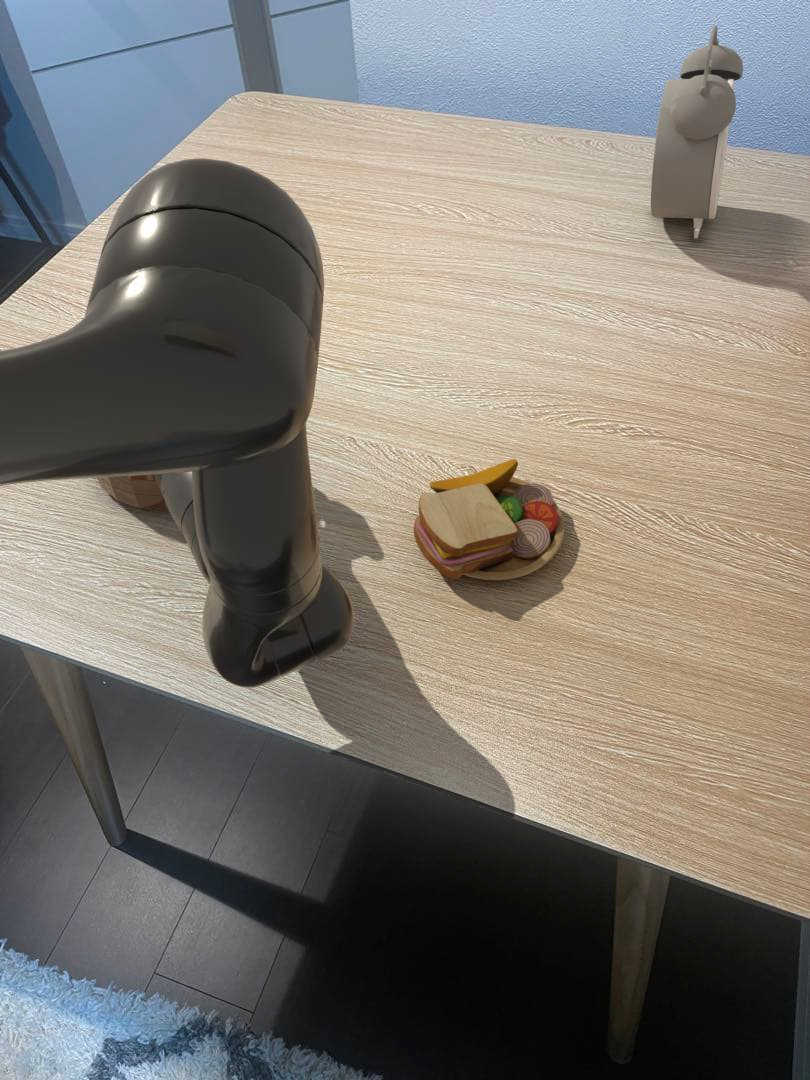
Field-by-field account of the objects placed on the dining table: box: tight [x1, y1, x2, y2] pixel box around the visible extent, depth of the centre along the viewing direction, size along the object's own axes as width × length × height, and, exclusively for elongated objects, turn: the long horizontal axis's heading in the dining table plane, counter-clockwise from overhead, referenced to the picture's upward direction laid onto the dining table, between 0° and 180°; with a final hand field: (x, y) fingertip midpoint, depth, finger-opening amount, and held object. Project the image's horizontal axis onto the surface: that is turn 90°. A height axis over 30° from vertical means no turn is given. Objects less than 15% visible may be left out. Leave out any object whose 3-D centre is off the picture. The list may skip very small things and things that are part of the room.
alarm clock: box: [650, 25, 744, 239], centre depth 108 cm, size 16×9×22 cm, turn 162°
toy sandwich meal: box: [413, 458, 565, 581], centre depth 80 cm, size 12×14×5 cm
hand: (153, 372), depth 85 cm, fingers open, 8 cm apart
